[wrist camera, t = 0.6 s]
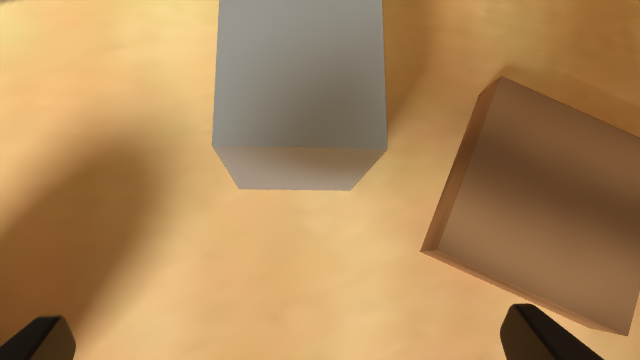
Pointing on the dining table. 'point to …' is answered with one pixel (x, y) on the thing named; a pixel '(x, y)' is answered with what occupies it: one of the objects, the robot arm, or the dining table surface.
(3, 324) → the dining table surface
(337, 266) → the dining table surface
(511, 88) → the base brick
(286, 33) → the tower block
